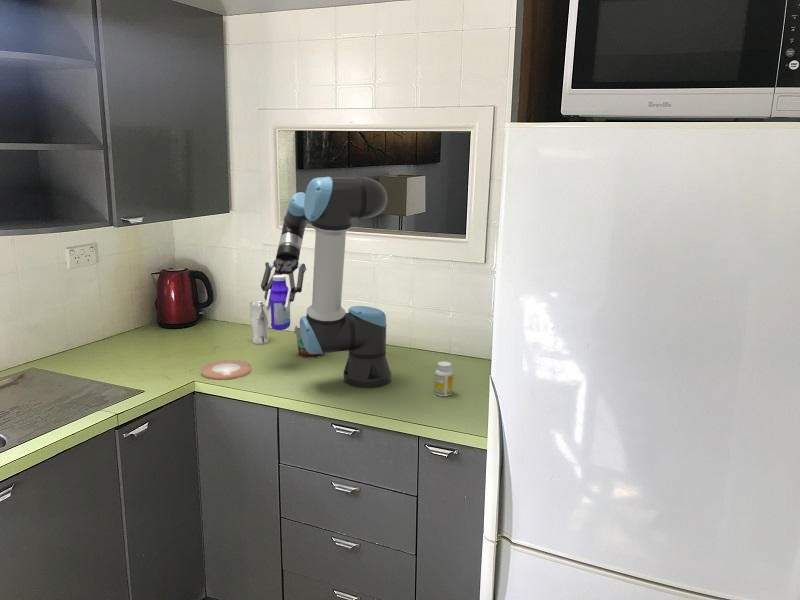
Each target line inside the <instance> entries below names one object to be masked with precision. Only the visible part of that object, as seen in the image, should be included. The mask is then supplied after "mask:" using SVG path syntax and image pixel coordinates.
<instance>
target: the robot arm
mask: <svg viewBox="0 0 800 600" xmlns="http://www.w3.org/2000/svg"><path fill="white" fill-rule="evenodd" d="M387 204H388V193H387V191H386V189H385V187H384V186H383V184H381V183H380V182H379V181H378V180H375V179H373V178H370V177H365V176H356V177H355V176H352V177H351V176H325V177H324V176H323V177H316V178H315V177H314V178H313V179H311V180H310V182H309V183H308V184H307V187H306V190H305V192H304V191H303V192H302V191H301V192H300V191H299V192H295V193H294V194H292V196H291V198H290V200H289V202H288V204H287V210H286V212H285V215H284V218H283V224H282V227H281V228H282V229H281V233H280V234H281V235H280V238H279V242H278V248H277V251H276V256H275V260H273V262H270V263H269V261H268V262H267V261H266V262H265V264H264V265H265V270H264V273H263V277H262V281H261V283H260V287H261V290H262V291H263V292H265V293H264V297H263V298H264V301H266V304H265V307H266V310H267V311H269V312H270V311H271V308H270V297H271V293H272V291H271V288H272V285H273V276H274V275H288V277H289V286H290V289H288V293H287V298H286V304H285V309H286V311H287V312H289V308H290V309H291V302H292V303H293V302H294V301H295V297H296V294H297V293H302V290H303V282H304V276H305V273H306V271H307V266H306V264H305V263H299V261H300V255H301V251H302V250H301V249H302V246H303V245H302V244H303V240H304V234H305V230H306V227H307V224H308V222H310V226H311V227H312V228H313V229H314V230H315V234H314V235H315V237H314V256H313V257H314V260H313V279H312V280H313V281H312V300H311V302H312V303H311V305H310V306H308V307H307V309H306V315H305V316H304V315H303V316H301V317H300V318H299V328H300V332H301V337H302V341H303V344H304V347H305V349H306V350H307V352H308V353H310V354H323V353H325V354H330V353H340V352H348V357H347V360H346V361H347V362H346V363H345V364H346V365H345V366H344V370H343V373H342V374H343V382H344V383H346V384H347V385H349V386H353V387H359V388H377V387H382V386H385V385H388V384H389V383H390V382H391V380H392V371H391V369H390V364H389V362H388V359H387V345H386V344H387V327H388V325H387V315H386V313H385V312H384V311H383V310H382V309H379V308H377V307H371V306H367V305H366V306H365V305H353V306H350V307H349V308H348V310H347V312H346V310H345V308H343V307H342V298H343V296H342V294H343V284H344V283H343V281H344V279H343V278H344V268H345V267H344V265H345V251H346V236H347V235H346V234H347V232H348V231H349V230H350V229H352V226H353V220H362V219H369V218H373V217H376V216H378V215H380V214H381V213H382V212H383V211H384V210H385V209H386V207H387ZM273 268H275V269H274V271H273ZM297 269H298V273H297V281H296V283H295V277H294V273H295V271H296V270H297ZM272 271H273V274H272ZM271 274H272V276H271Z"/></svg>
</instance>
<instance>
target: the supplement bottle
mask: <svg viewBox="0 0 800 600" xmlns="http://www.w3.org/2000/svg"><path fill="white" fill-rule="evenodd" d="M453 372H454V371H453V370H452V363H451V362H448V361H439V362H437V369H436V370H435V372H434V389H433V391H434V394H435V395H436V396H437V395H439V396H438V397H441V396H447V397H450V396H451V395H452V394H453V383H454V381H453V378H454V373H453ZM449 395H450V396H449Z"/></svg>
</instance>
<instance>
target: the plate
mask: <svg viewBox="0 0 800 600" xmlns="http://www.w3.org/2000/svg"><path fill="white" fill-rule="evenodd" d="M251 372H252V364H251V363H249V362H246V361H244V360H243V361H242V360H236V359H230V360H229V359H228V360H227V359H226V360H219V361H213V362H210V363H207V364H205V365H203V366H201V368H200V375H201V377H203V378H206V379H208V378H209V379H208V380H218V381H221V380H223V381H225V380H226V381H227V380H228V381H229V380H235V379H238V378H239V379H240V378H242V377H243V378H244V377H245V376H247V375H248V374H250V373H251Z"/></svg>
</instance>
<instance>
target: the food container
mask: <svg viewBox="0 0 800 600" xmlns="http://www.w3.org/2000/svg"><path fill="white" fill-rule="evenodd" d="M293 333H294V334H295V335H296V343H297V350H298V355H299V356H300V357H302V356H303V358H308V357H314V358H319V357H318V356H320V357H322V355H323V356H324V355H325V354H326V353H323V354H310V353H308V352H307V350H306V349H305V347H304V344H303V341H302V337H301V332H300V327H297V324H295V327H294V332H293Z"/></svg>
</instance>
